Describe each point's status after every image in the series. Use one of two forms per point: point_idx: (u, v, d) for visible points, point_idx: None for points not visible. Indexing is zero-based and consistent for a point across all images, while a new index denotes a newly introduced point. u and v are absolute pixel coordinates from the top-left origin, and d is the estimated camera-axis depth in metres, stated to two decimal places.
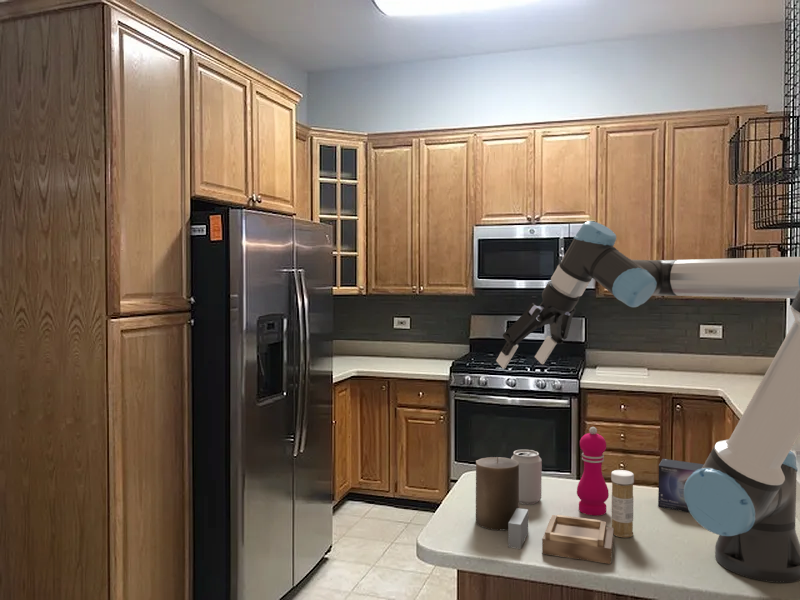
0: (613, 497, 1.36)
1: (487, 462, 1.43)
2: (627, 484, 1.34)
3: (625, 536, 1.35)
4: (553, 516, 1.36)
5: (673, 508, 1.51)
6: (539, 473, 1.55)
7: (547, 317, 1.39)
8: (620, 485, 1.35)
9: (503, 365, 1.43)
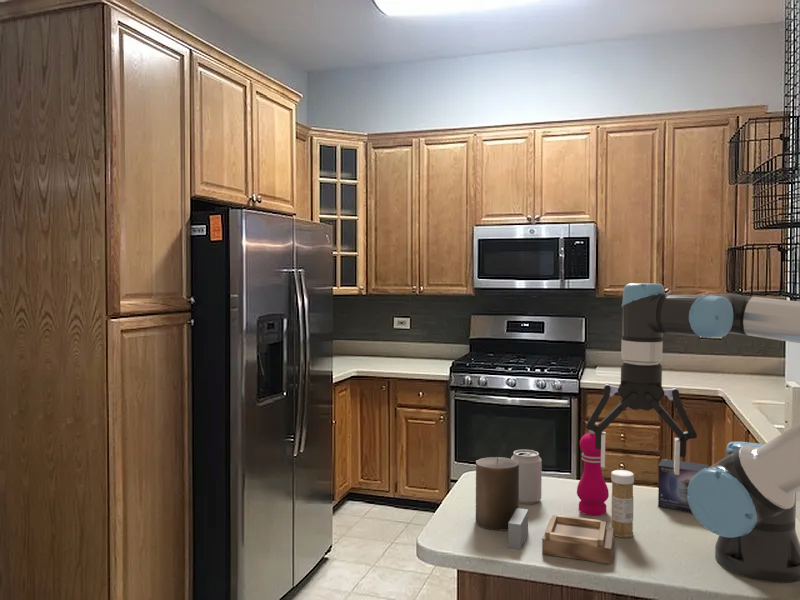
0: (613, 497, 1.36)
1: (487, 462, 1.43)
2: (627, 484, 1.34)
3: (625, 536, 1.35)
4: (553, 516, 1.36)
5: (673, 508, 1.51)
6: (539, 473, 1.55)
7: (627, 397, 1.24)
8: (620, 485, 1.35)
9: None
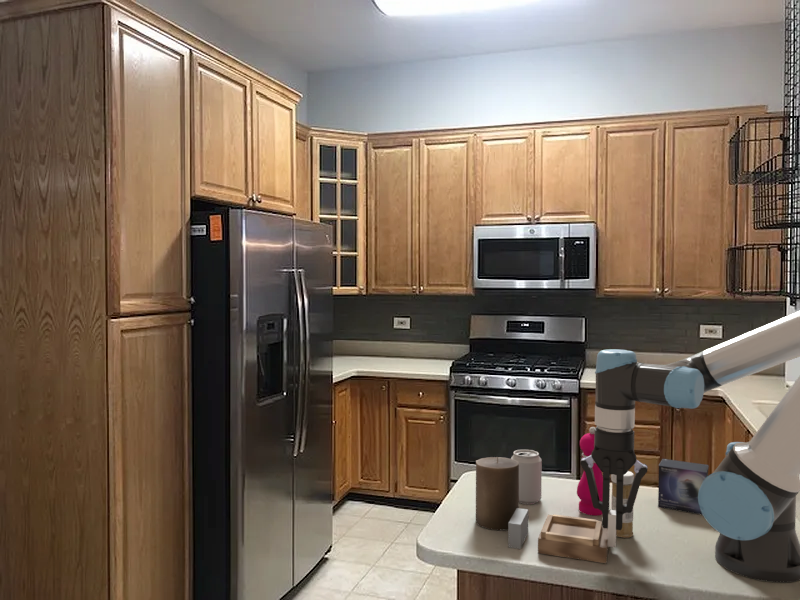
0: (613, 497, 1.36)
1: (487, 462, 1.43)
2: (627, 484, 1.34)
3: (625, 536, 1.35)
4: (549, 515, 1.36)
5: (673, 508, 1.51)
6: (539, 473, 1.55)
7: (603, 465, 1.26)
8: None
9: None
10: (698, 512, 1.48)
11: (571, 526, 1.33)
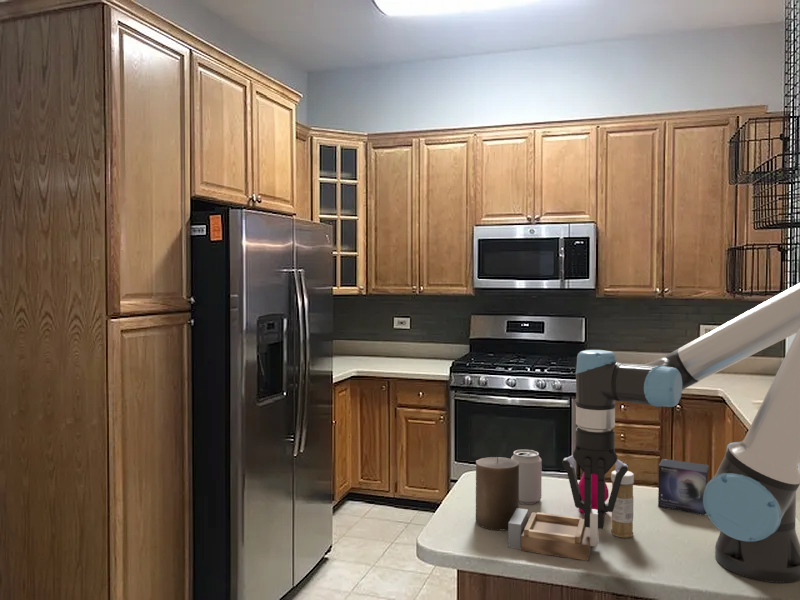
0: None
1: (487, 462, 1.43)
2: (627, 484, 1.34)
3: (625, 536, 1.35)
4: (533, 513, 1.37)
5: (673, 508, 1.51)
6: (539, 473, 1.55)
7: (584, 465, 1.27)
8: (620, 485, 1.35)
9: None
10: (698, 512, 1.48)
11: (554, 524, 1.34)
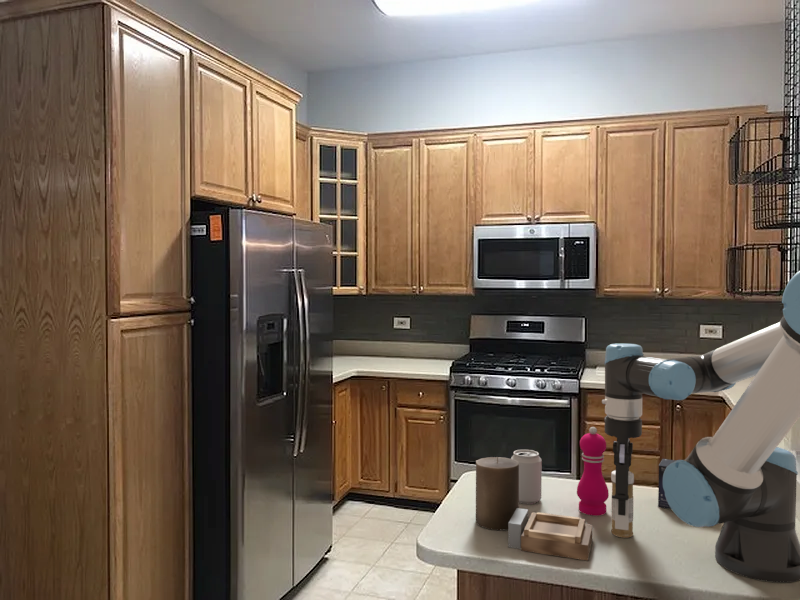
0: None
1: (487, 462, 1.43)
2: None
3: (625, 536, 1.35)
4: (533, 513, 1.37)
5: None
6: (539, 473, 1.55)
7: (629, 453, 1.34)
8: None
9: (626, 527, 1.34)
10: None
11: (554, 524, 1.34)
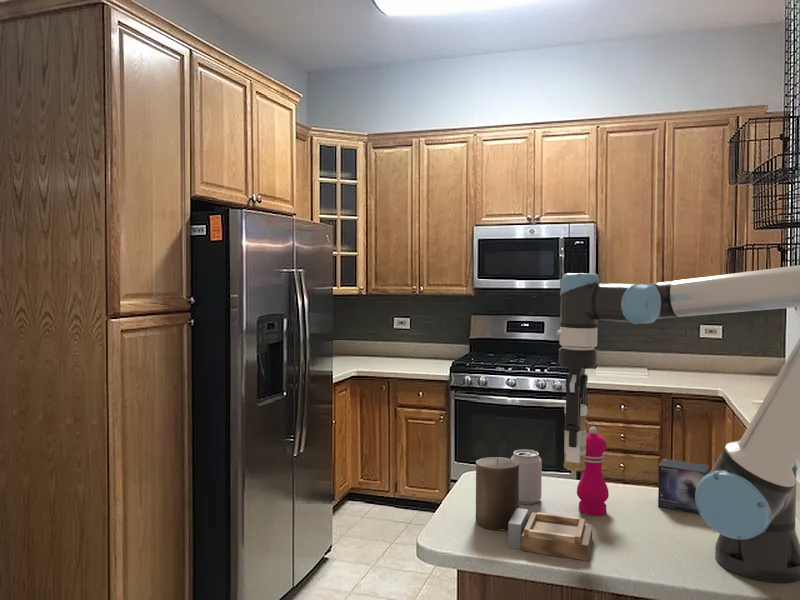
0: (565, 430, 1.33)
1: (487, 462, 1.43)
2: None
3: (576, 469, 1.31)
4: (533, 513, 1.37)
5: (673, 508, 1.51)
6: (539, 473, 1.55)
7: (582, 384, 1.30)
8: None
9: (577, 459, 1.30)
10: (698, 512, 1.48)
11: (554, 524, 1.34)
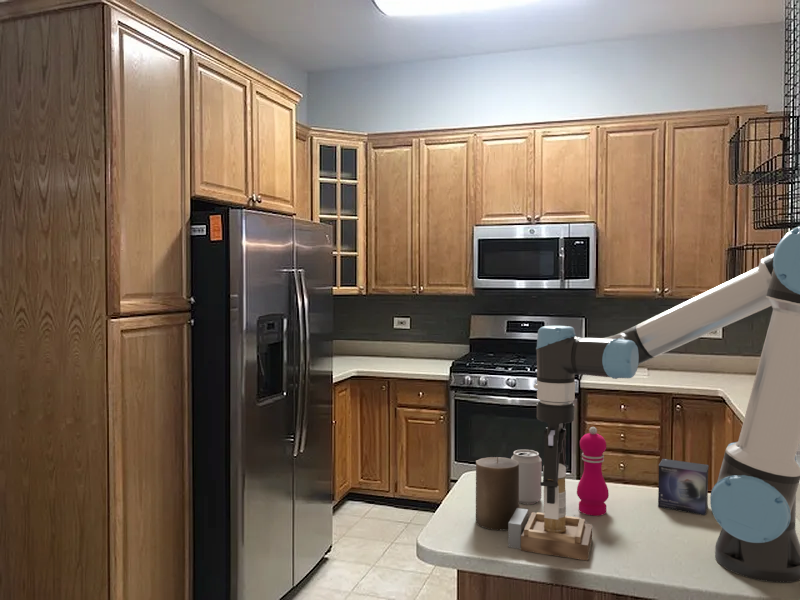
0: None
1: (487, 462, 1.43)
2: (558, 478, 1.29)
3: (557, 531, 1.29)
4: (533, 513, 1.37)
5: (673, 508, 1.51)
6: (539, 473, 1.55)
7: (561, 438, 1.28)
8: None
9: (556, 516, 1.26)
10: (698, 512, 1.48)
11: None
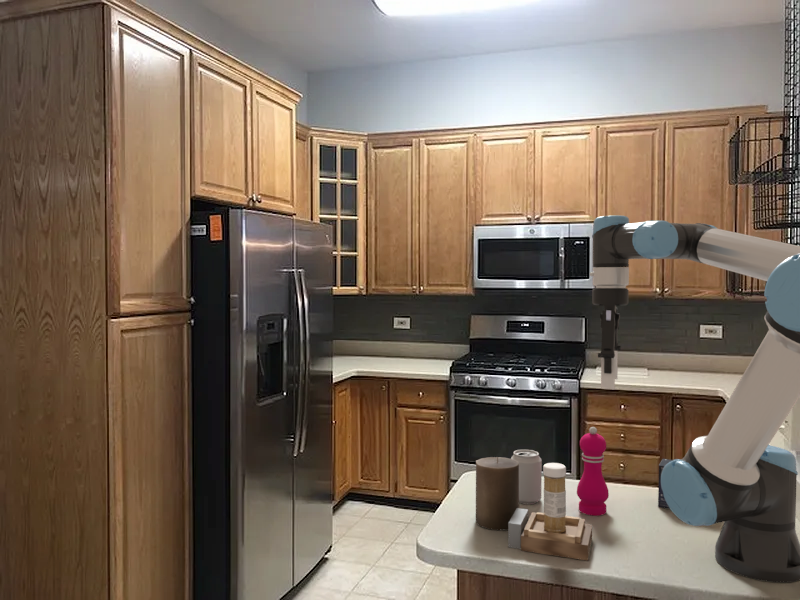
0: (545, 491, 1.31)
1: (487, 462, 1.43)
2: (558, 477, 1.29)
3: (557, 531, 1.29)
4: (533, 513, 1.37)
5: None
6: (539, 473, 1.55)
7: (616, 318, 1.37)
8: (551, 478, 1.29)
9: (612, 386, 1.33)
10: None
11: None
